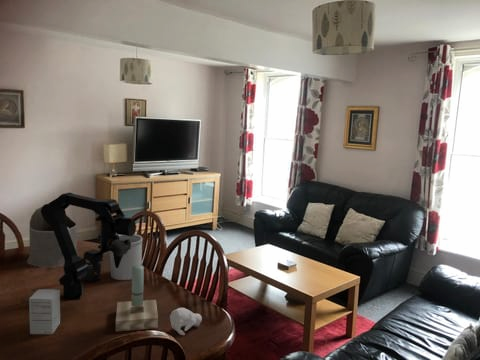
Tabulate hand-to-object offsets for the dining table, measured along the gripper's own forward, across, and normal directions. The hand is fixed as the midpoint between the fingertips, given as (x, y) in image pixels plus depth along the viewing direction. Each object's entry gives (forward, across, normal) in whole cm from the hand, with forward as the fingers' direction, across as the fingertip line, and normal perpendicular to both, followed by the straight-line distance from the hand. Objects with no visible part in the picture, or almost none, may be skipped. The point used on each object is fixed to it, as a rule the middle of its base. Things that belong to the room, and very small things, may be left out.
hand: (108, 271), depth 148 cm
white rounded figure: (+13, +1, -37) cm, 39 cm away
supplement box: (+13, -25, +3) cm, 28 cm away
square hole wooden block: (+13, -4, -18) cm, 23 cm away
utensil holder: (+13, +25, +14) cm, 32 cm away
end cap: (+13, +12, +24) cm, 30 cm away
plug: (+7, -4, -18) cm, 20 cm away
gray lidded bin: (+13, +18, +53) cm, 57 cm away
